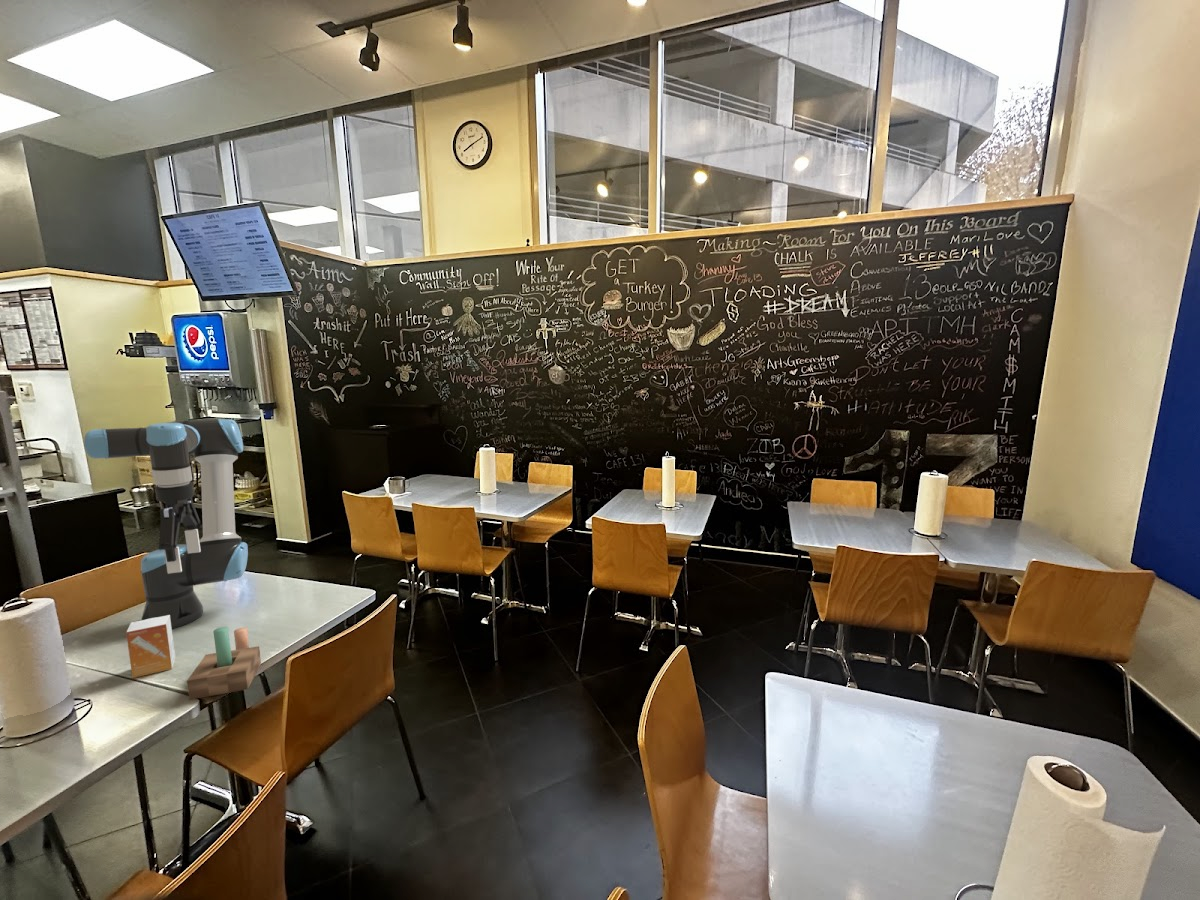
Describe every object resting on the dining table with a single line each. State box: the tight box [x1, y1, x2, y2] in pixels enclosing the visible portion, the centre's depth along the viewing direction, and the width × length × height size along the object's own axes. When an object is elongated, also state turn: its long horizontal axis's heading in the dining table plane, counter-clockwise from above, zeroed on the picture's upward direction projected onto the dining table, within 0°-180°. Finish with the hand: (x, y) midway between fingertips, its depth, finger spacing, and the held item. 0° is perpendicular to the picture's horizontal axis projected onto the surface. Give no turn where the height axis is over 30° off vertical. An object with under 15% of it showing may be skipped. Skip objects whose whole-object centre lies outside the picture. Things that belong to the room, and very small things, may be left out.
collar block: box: [186, 646, 262, 700], centre depth 130 cm, size 12×12×5 cm
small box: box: [125, 615, 176, 679], centre depth 135 cm, size 8×6×13 cm
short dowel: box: [233, 627, 250, 650], centre depth 142 cm, size 3×3×7 cm
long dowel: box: [213, 626, 232, 667], centre depth 129 cm, size 3×3×14 cm
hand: (185, 562), depth 133 cm, fingers open, 13 cm apart
